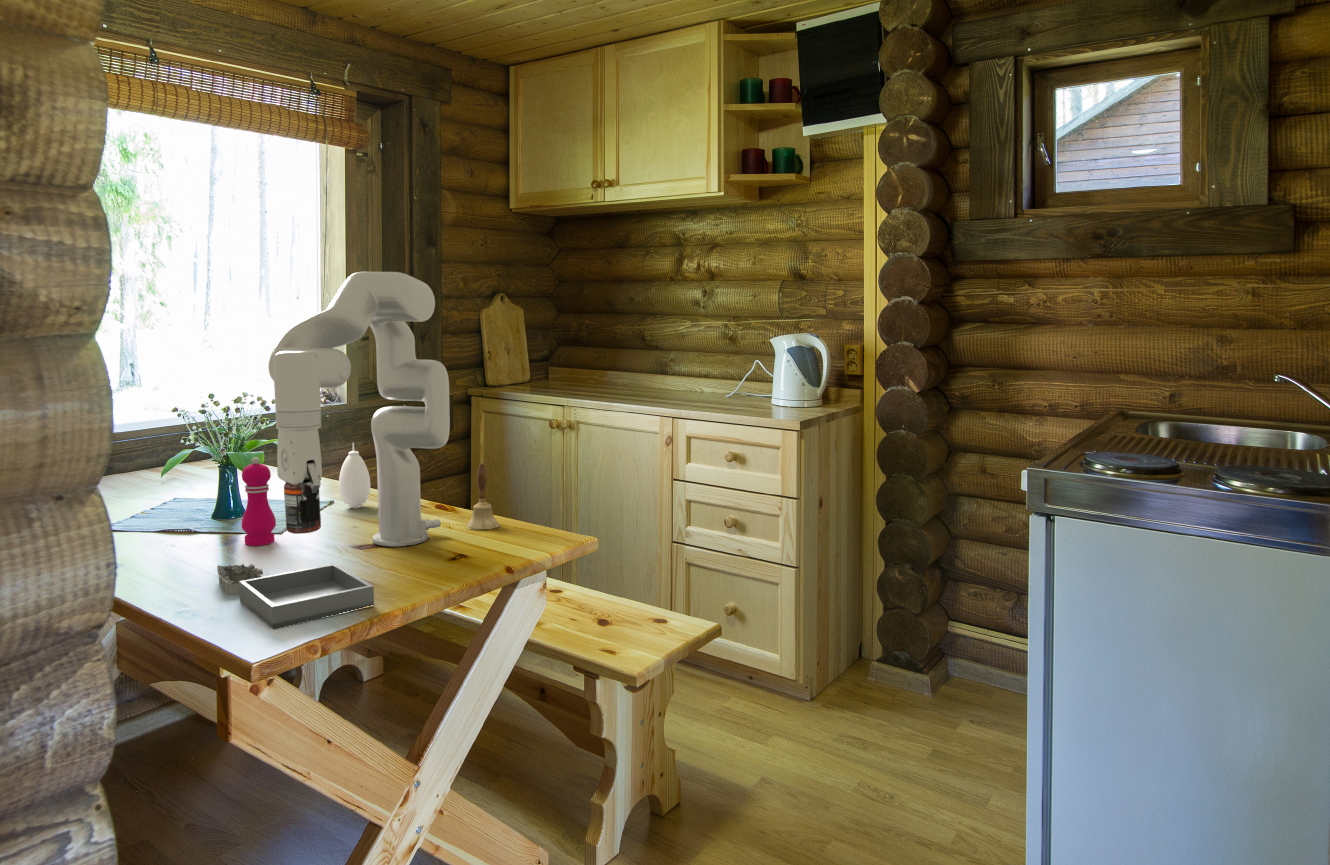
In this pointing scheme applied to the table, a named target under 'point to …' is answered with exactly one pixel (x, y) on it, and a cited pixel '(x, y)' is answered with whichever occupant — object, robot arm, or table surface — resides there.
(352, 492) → the air blower bulb
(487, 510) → the hand bell
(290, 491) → the supplement bottle
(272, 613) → the tray
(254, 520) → the pepper mill
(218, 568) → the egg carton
